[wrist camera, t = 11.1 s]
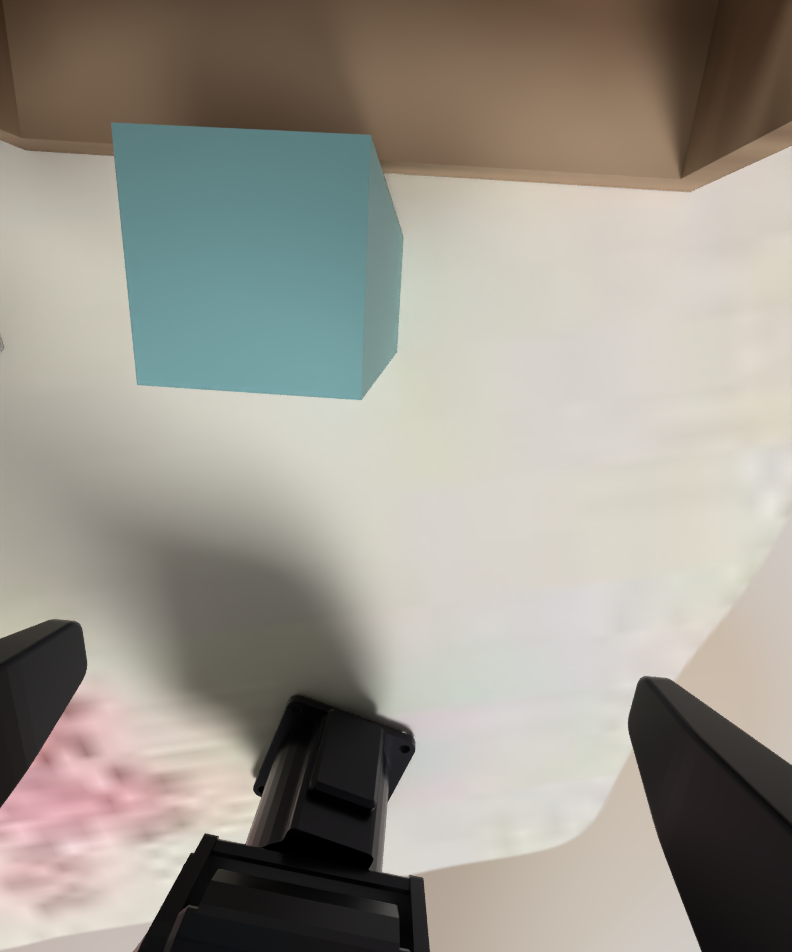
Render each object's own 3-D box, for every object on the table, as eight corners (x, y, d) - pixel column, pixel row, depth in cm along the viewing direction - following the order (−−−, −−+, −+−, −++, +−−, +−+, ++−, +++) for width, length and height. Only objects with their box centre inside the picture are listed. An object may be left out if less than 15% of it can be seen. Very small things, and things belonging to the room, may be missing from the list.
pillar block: (397, 352, 19) (361, 399, 9) (292, 345, 19) (136, 385, 9) (403, 237, 18) (370, 134, 8) (291, 230, 18) (111, 122, 8)
